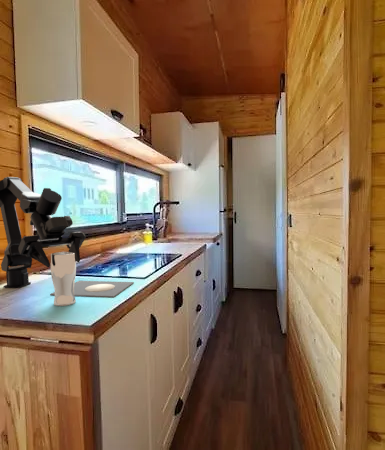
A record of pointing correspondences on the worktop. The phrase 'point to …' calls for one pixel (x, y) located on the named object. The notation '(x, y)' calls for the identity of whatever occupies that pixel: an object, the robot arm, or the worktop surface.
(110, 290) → the slate mat
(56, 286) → the beer glass
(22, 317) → the worktop surface
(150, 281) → the worktop surface
